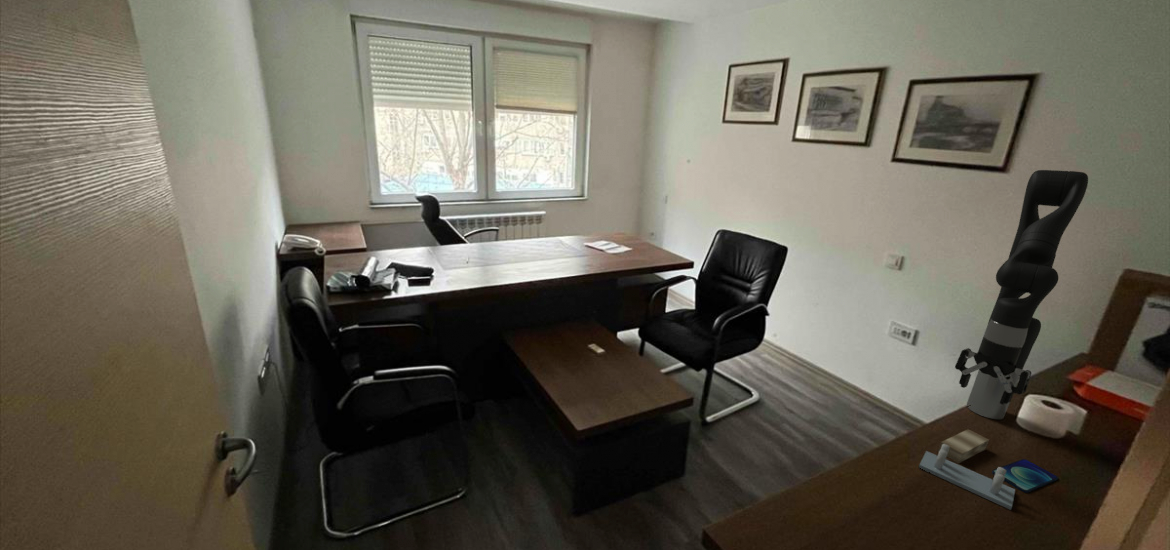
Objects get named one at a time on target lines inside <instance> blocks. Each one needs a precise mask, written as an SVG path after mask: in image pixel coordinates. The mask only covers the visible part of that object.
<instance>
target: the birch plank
mask: <svg viewBox="0 0 1170 550" xmlns="http://www.w3.org/2000/svg"><path fill="white" fill-rule="evenodd" d="M989 441H990V438H989V439H988V438H986V437H984V436H983V435H980V434H979V433H976V432H975V431H973V430H971V429H968V428H967V429H965V430H963V431H961V432H959V433H956V434H955V435H953V436H951V437H948V438H947V439H945V440H943V441H940V444H939V448H938V450H937V452H938V453H939V451H940V449H941V447H942V444H946V445H948V446H949V447H950V449H949V451H948V454H947V457H946V458H948V459H949V460H952V462H953V461H954V463H956V464H960V463H963V462H964V461H967V460H968V459H970V458H972V457H974V456H976V455H977V454H980V453H982V452H983V451H985V450H986V449H987V447H988V444H989Z"/></svg>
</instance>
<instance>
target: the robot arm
mask: <svg viewBox="0 0 1170 550" xmlns="http://www.w3.org/2000/svg"><path fill="white" fill-rule="evenodd" d="M1088 184H1089V176H1088V174H1087V173H1086V172H1082V171H1077V170H1072V171H1071V170H1056V169H1055V170H1053V169H1052V170H1051V169H1049V170H1048V169H1038V170H1036V171H1034V172H1033V173H1032V174H1031V175H1030V176H1029V179H1028V181H1027V184H1026V188H1025V193H1024V197H1023V203H1022V207H1021V213H1020V217H1019V223H1018V226H1017V230H1016V232H1015V236H1014V238H1013V239H1014V240H1013V242H1012V246H1011V248H1010V252H1009V254H1008V255H1009V256H1008V258H1007V259H1006V260H1005V261H1004V262H1003V263H1002V265H1001V266H1000V267H999V268H998V270H997V272H996V273H995V281H996V283H997V285H998V286H1000V290H999V293H998V296H997V299H996V301H995V304H994V307H993V309H992V311H991V314H990V317H989V320H988V322H987V326H986V328H985V331H984V334H983V337H982V339H981V342H980V345H979V347H978V348H979V349H978V351H977V352H974V351H972V349H971V348H969V347H968V348H965V349H963V350H961V351H960V354H959V357H958V359H957V361H956V363H955V365H954V369H956V370H957V371H960V372H961V375H960V379H959V381H958V382H959V383H958V384H960V388H963V389H964V388H967V387H968V385H969V382H970V380H971V376H972V374H971V373H974V372H976V371H978V372H977V374H976V376H975V379H974V383H973V386H972V388H971V391H970V394H969V396H968V399H967V402H966V407H967V406H969V405H971V406H969V407H967V408H968V409H969V410H970V411H971V412H973V413H975V414H977V415H979V416H982V417H985V418H987V419H992V420H1002V419H1004V417H1005V415H1006V412H1007V410H1008V409H1009V406H1010V402H1011V401H1012V399H1013V396H1014V394H1017V395H1022V394H1023V393H1026V391H1027V388H1028V386H1029V382H1030V380H1031V375H1032V371H1031V370H1030V369H1026V370H1024V367H1025V365H1026V362H1027V360H1028V359H1029V356H1030V354H1031V351H1032V349H1033V347H1034V345H1035V344H1036V341H1037V338H1038V337H1039V335H1040V332H1041V329H1042V323H1041V321H1040V320H1039V319H1038V318H1035V317H1033V316H1034V315H1035V312H1036V311H1037V308H1038V307H1039V305H1040V304H1041V303H1042V302H1043V300H1044V299H1045V298H1046V297H1047V296H1048V295H1049V294H1050V293H1051V291H1053V290H1054V288H1055V287H1056V285H1057V284H1058V282H1059V273H1058V272H1057V270H1056V269H1055V268H1053V267H1054V263H1055V260H1056V256H1057V255H1056V254H1057V251H1058V248H1059V245H1060V242H1061V239H1062V237H1063V234H1064V232H1066V229H1067V227H1068V226H1069V224H1070V223H1071V222H1072V220H1073V217H1074V216H1075V214H1076V213H1077V211H1078V209H1079V207H1080V205H1081V203H1082V201H1083V199H1084V197H1085V195H1086V193H1087V189H1088ZM1039 206H1048V207H1057V208H1056V209H1055V210H1054V211H1052V212H1050V213H1048V214H1046V215H1045V216H1043V217H1042V218H1040V215H1039ZM1026 293H1027V294H1029V295H1027V296H1025V297H1023V298H1022V296H1023V295H1025V294H1026ZM971 358H973V359H974V362H975V363H976V364H975V365H973V366H972V365H971V367H967V366H966V364H967V361H968V360H969V359H971Z"/></svg>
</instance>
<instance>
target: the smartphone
mask: <svg viewBox="0 0 1170 550" xmlns="http://www.w3.org/2000/svg"><path fill="white" fill-rule="evenodd" d="M1000 467H1001V468H1004V469H1005V470H1006V474H1005V479H1004V481H1003V482H1005V483H1007V484H1008V485H1011V486H1012V487H1014V489H1017V490H1019V491H1021V492H1023V493H1025V494H1027V493H1031V492H1033V491H1035V490H1037V489H1040V488H1041V487H1045V486H1047V485H1049V484H1051V483H1053V482H1055V481H1058V479H1059V477H1058V476H1057V475H1056V474H1054V473H1052V472H1050V471H1048V470H1047V469H1044V468H1042V467H1041V466H1039V465H1037V464H1036V463H1033V462H1032V461H1030V460H1028V459H1025V458H1022V459H1019V460H1017V461H1014V462H1010V463H1008V464H1006V465H1003V466H1000ZM996 471H997V468H994V469H993V470H992V471H991V474H992V475H993V476H995V473H996Z"/></svg>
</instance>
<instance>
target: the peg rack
mask: <svg viewBox="0 0 1170 550" xmlns="http://www.w3.org/2000/svg"><path fill="white" fill-rule="evenodd" d="M949 449H950V447H949V446H948V445H946V444H942V447H941V449H940V451H939V452H938V454H937V455H936V454H935V453H932V452H930V451H927V450H925V453H924V455H923V456H922V459H921V461H920V462H919V466H918V468H919V469H920V468H921V469H920V470H922V469H923V471H924V470H925V472H927V473H929V472H930V473H929V474H932V475H933V476H936V477H938V478H940V479H943V480H944V481H946V482H948V483H951V484H952V485H955V486H957V487H960V488H962V489H964V490H967V491H969V492H970V493H973V494H975V495H977V496H979V497H982V498H984V499H986V500H987V501H991V502H992V503H995V504H997V505H998V506H1001V507H1002V508H1006V509H1008V510H1010V511H1012V508H1013V504H1014V498H1015V492H1016V488H1012V487H1010V486H1008V485H1006V484H1004V482H1005V481H1004V479H1005V474H1006V470H1005V469H1004V468H1001V467H1002V466H997V468H996V469H997V471H996V473H995V475H993V476H994V477H993V478H990V477H988V476H986V475H983V474H980V473H978V472H976V471H973V470H972V469H969V468H967V467H964V466H962V465H960V464H959V463H956V462H953V461H950V460H949V459H947V458H948V457H947V454H948V451H949Z"/></svg>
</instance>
